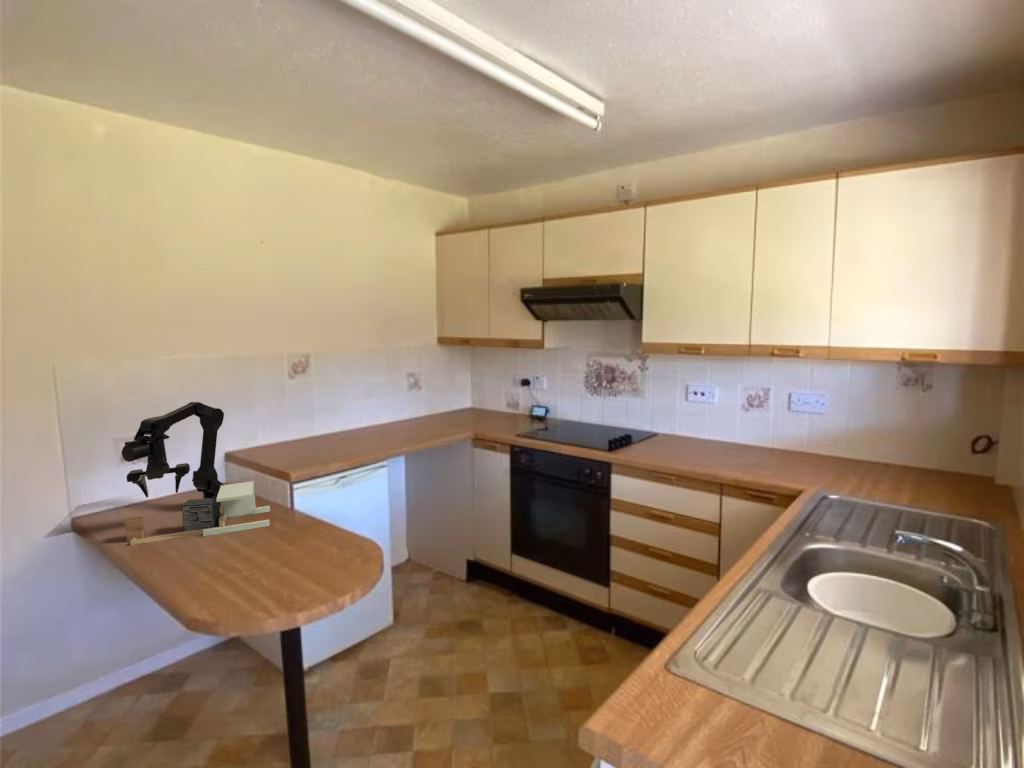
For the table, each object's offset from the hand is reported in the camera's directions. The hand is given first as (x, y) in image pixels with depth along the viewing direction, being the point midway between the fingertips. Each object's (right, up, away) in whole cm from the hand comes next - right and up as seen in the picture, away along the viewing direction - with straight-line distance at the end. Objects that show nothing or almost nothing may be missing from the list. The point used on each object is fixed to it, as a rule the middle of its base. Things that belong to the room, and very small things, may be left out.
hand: (162, 494), depth 199 cm
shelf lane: (+27, -11, +2) cm, 29 cm away
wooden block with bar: (+9, -12, -6) cm, 16 cm away
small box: (+17, -12, -3) cm, 21 cm away
